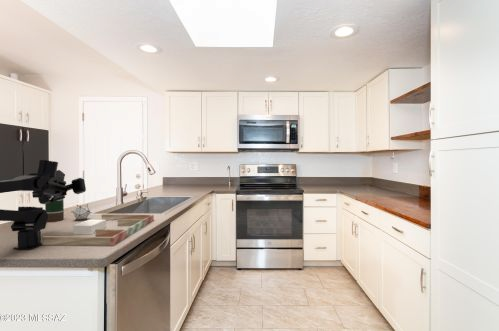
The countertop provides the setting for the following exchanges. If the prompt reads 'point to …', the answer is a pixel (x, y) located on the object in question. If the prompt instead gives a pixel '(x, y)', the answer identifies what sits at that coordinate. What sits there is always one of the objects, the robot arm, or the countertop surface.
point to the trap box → (104, 232)
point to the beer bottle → (55, 211)
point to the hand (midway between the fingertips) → (74, 193)
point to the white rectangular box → (89, 226)
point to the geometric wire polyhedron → (81, 212)
